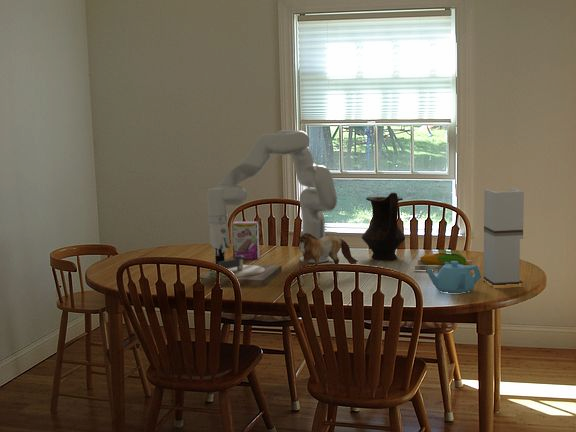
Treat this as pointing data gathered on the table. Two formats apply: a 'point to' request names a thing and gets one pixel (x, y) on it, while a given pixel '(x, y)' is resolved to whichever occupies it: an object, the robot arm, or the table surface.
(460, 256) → the corn
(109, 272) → the table surface
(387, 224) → the jug
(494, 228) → the white rectangular tower
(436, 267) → the corn rest
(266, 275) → the tuner base
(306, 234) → the horse figurine
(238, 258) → the lever with ball knob
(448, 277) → the teapot
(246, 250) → the candy bar box
